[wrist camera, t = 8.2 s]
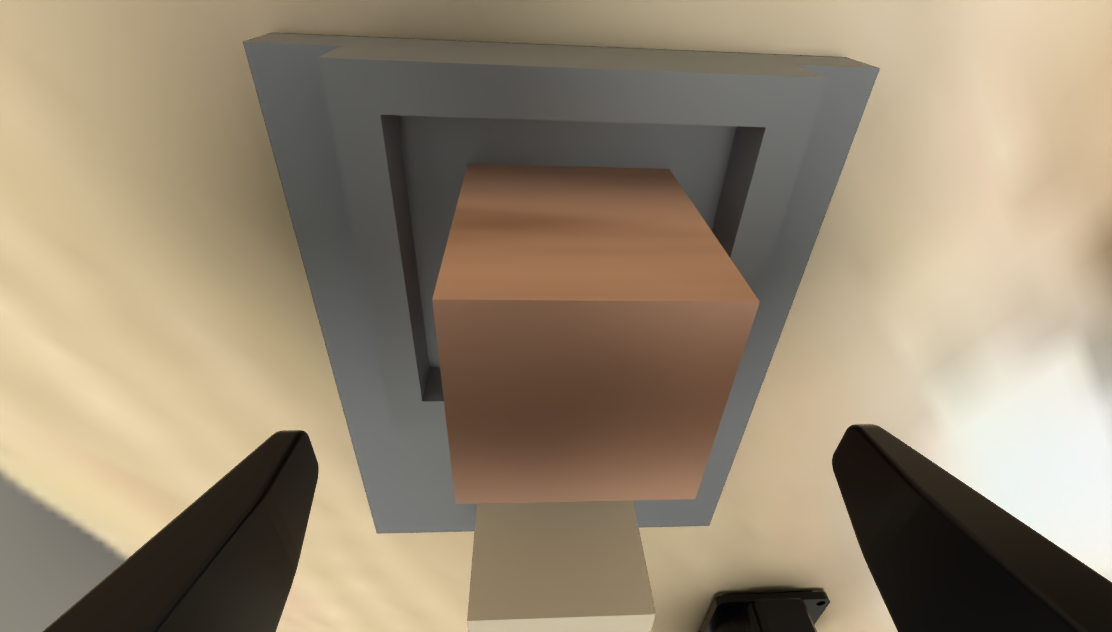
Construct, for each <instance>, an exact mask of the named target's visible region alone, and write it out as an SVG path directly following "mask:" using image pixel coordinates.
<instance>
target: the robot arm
mask: <svg viewBox="0 0 1112 632" xmlns="http://www.w3.org/2000/svg"><path fill="white" fill-rule="evenodd" d="M832 466H833V471H834V474H835V477H836V479H837V482H838V485H839V488H840V491H841V494H842V497H843V500H844V503H845V505H846V508H847V511H848V514H849V517H850V520H851V523H852V526H853V529H854V531H855V534H856V537H857V540H858V543H859V545H860V548H861V551H862V553H863V556H864V558H865V560H866V563H867V565H868V567H869V570H870V572H871V574H872V576H873V578H874V581H875V583H876V585H877V587H878V589H879V591H880V594H881V596H882V598H883V600H884V602H885V604H886V607H887V609H888V611H889V613H890V615H891V617H892V620H893V622H894V624H895V626H896V628H897V630H898V632H1112V582H1110V581H1109V580H1107V579H1106V578H1104V577H1103V576H1101V575H1100V574H1098V573H1097V572H1096V571H1094V570H1093V569H1091V568H1090V567H1088V566H1087V565H1085V564H1084V563H1082V562H1081V561H1079V560H1078V559H1076V558H1075V557H1073V556H1072V555H1070V554H1069V553H1067V552H1066V551H1064V550H1063V549H1061V548H1060V547H1058V546H1057V545H1055V544H1054V543H1052V542H1051V541H1049V540H1048V539H1046V538H1045V537H1043V536H1042V535H1040V534H1039V533H1037V532H1036V531H1034V530H1033V529H1032V528H1030V527H1029V526H1027V525H1026V524H1024V523H1023V522H1021V521H1020V520H1018V519H1017V518H1015V517H1014V516H1012V515H1011V514H1009V513H1008V512H1006V511H1005V510H1003V509H1002V508H1000V507H999V506H997V505H996V504H994V503H993V502H991V501H990V500H988V499H987V498H985V497H984V496H982V495H981V494H979V493H978V492H976V491H975V490H973V489H972V488H971V487H969V486H968V485H966V484H965V483H963V482H962V481H960V480H959V479H957V478H956V477H954V476H953V475H951V474H950V473H948V472H947V471H945V470H944V469H942V468H941V467H939V466H938V465H936V464H935V463H933V462H932V461H930V460H929V459H927V458H926V457H924V456H923V455H921V454H920V453H918V452H917V451H915V450H914V449H912V448H911V447H909V446H908V445H907V444H905V443H904V442H902V441H901V440H899V439H898V438H896V437H895V436H893V435H892V434H890V433H889V432H887V431H886V430H884V429H883V428H881V427H879V426H877V425H873V424H859V425H852V426H850V427H849V428H848V429H847V430H846V432H845V434H844V436H843V438H842V439H841V441H840V443H839V445H838V447H837V449H836V450H835V452H834V454H833V458H832ZM317 479H318V462H317V459H316V456H315V453H314V451H313V448H312V445H311V442H310V439H309V436H308V434H307V433H306V432H304V431H301V430H295V431H279V432H276V433H275V434H273V435H272V436H271V437H269V438H268V439H267V440H266V441H265V442H264V443H262V444H261V445H260V446H259V447H258V448H257V449H255V450H254V451H253V452H252V453H251V454H250V455H248V456H247V457H246V458H245V459H244V460H243V461H241V462H240V463H239V464H238V465H237V466H236V467H234V468H233V469H232V470H231V471H230V472H229V473H227V474H226V475H225V476H224V477H223V478H222V479H220V480H219V481H218V482H217V483H216V484H215V485H213V486H212V487H211V488H210V489H209V490H208V491H206V492H205V493H204V494H203V495H202V496H201V497H199V498H198V499H197V500H196V501H195V502H194V503H192V504H191V505H190V506H189V507H188V508H187V509H185V510H184V511H183V512H182V513H181V514H180V515H178V516H177V517H176V518H175V519H174V520H172V521H171V522H170V523H169V524H168V525H167V526H165V527H164V528H163V529H162V530H161V531H160V532H158V533H157V534H156V535H155V536H154V537H153V538H151V539H150V540H149V541H148V542H147V543H146V544H144V545H143V546H142V547H141V548H140V549H139V550H137V551H136V552H135V553H134V554H133V555H132V556H130V557H129V558H128V559H127V560H126V561H125V562H123V563H122V564H121V565H120V566H119V567H118V568H116V569H115V570H114V571H113V572H112V573H111V574H110V575H108V576H107V577H106V578H105V579H104V580H102V581H101V582H100V583H99V584H98V585H97V586H96V587H94V588H93V589H92V590H91V591H90V592H88V593H87V594H86V595H85V596H84V597H83V598H81V599H80V600H79V601H78V602H77V603H76V604H74V605H73V606H72V607H71V608H70V609H68V610H67V611H66V612H65V613H64V614H63V615H61V616H60V617H59V618H58V619H57V620H56V621H55V622H53V623H52V624H51V625H50V626H49V627H48V628H46V629H45V630H44V631H43V632H276V629H277V626H278V623H279V621H280V618H281V615H282V612H283V609H284V606H285V603H286V600H287V597H288V595H289V592H290V589H291V586H292V583H293V579H294V576H295V573H296V570H297V566H298V562H299V558H300V554H301V549H302V545H303V541H304V536H305V532H306V527H307V523H308V519H309V514H310V510H311V506H312V501H313V497H314V492H315V488H316V484H317ZM829 603H830V600H829V598H828V596H827V594H826V593H825V592H795V593H765V594H735V595H721V596H718V597H716V598H715V599H714V601H713V604H712V606H711V608H710V610H709V613H708V615H707V617H706V619H705V622H704V624H703V626H702V628H701V630H700V632H817V630H816V628H815V626H814V624H815V623H816V621H817V620H818V618H819V617H820V616H821V614H822V613H823V611H824V610H825V609H826V607H827V606H828V604H829Z"/></svg>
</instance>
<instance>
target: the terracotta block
mask: <svg viewBox="0 0 1112 632" xmlns="http://www.w3.org/2000/svg"><path fill="white" fill-rule="evenodd" d="M432 302H433V310H434V319H435V328H436V337H437V346H438V354H439V363H440V372H441V381H442V390H443V398H444V407H445V416H446V425H447V433H448V442H449V451H450V460H451V469H452V477H453V486H454V495H455V504H481V503H531V502H580V501H629V500H679V499H695V498H696V495H697V492H698V489H699V486H700V483H701V480H702V477H703V474H704V471H705V468H706V465H707V462H708V459H709V456H710V453H711V449H712V446H713V443H714V440H715V437H716V434H717V431H718V428H719V425H720V422H721V419H722V416H723V413H724V410H725V407H726V404H727V401H728V398H729V395H730V391H731V388H732V385H733V382H734V379H735V376H736V373H737V370H738V367H739V364H740V361H741V358H742V355H743V352H744V349H745V346H746V343H747V340H748V337H749V334H750V330H751V327H752V324H753V321H754V318H755V315H756V312H757V309H758V306H759V303H760V301H759V300H758V298H757V297H756V295H755V294H754V292H753V291H752V290H751V288H750V287H749V285H748V284H747V282H746V281H745V279H744V278H743V276H742V275H741V273H740V272H739V270H738V269H737V267H736V266H735V265H734V263H733V262H732V260H731V259H730V257H729V256H728V254H727V253H726V251H725V250H724V248H723V247H722V245H721V244H720V243H719V241H718V240H717V238H716V237H715V235H714V234H713V232H712V231H711V229H710V228H709V226H708V225H707V223H706V222H705V221H704V219H703V218H702V216H701V215H700V213H699V212H698V210H697V209H696V207H695V206H694V204H693V203H692V201H691V200H690V199H689V197H688V196H687V194H686V193H685V191H684V190H683V188H682V187H681V185H680V184H679V182H678V181H677V179H676V178H675V176H674V175H673V174H672V172H671V171H670V169H657V168H617V167H577V166H538V165H498V164H467V168H466V171H465V175H464V179H463V183H462V187H461V191H460V195H459V198H458V202H457V206H456V210H455V214H454V218H453V222H452V225H451V229H450V233H449V237H448V241H447V245H446V249H445V252H444V256H443V260H442V264H441V268H440V272H439V275H438V279H437V283H436V287H435V291H434V295H433V299H432Z"/></svg>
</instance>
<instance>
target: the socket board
mask: <svg viewBox="0 0 1112 632" xmlns="http://www.w3.org/2000/svg"><path fill="white" fill-rule="evenodd" d="M243 44H244V47H245V51H246V55H247V58H248V62H249V66H250V69H251V73H252V77H253V80H254V84H255V88H256V91H257V95H258V99H259V102H260V106H261V110H262V113H263V117H264V121H265V124H266V128H267V132H268V135H269V139H270V143H271V146H272V150H273V154H274V157H275V161H276V165H277V168H278V172H279V176H280V179H281V183H282V187H283V190H284V194H285V198H286V201H287V205H288V209H289V212H290V216H291V220H292V223H293V227H294V231H295V235H296V238H297V242H298V246H299V249H300V253H301V257H302V260H303V264H304V268H305V271H306V275H307V279H308V282H309V286H310V290H311V293H312V297H313V301H314V304H315V308H316V312H317V315H318V319H319V323H320V326H321V330H322V334H323V337H324V341H325V345H326V348H327V352H328V356H329V359H330V363H331V367H332V370H333V374H334V378H335V381H336V385H337V389H338V392H339V396H340V400H341V403H342V407H343V411H344V414H345V418H346V422H347V425H348V429H349V433H350V436H351V440H352V444H353V447H354V451H355V455H356V458H357V462H358V466H359V469H360V473H361V477H362V481H363V484H364V488H365V492H366V495H367V499H368V503H369V506H370V510H371V514H372V517H373V521H374V525H375V528H376V532H377V533H419V532H462V531H475V533H474V545H473V558H472V570H471V582H470V594H469V606H468V618H467V623H468V632H650V631H651V628H652V625H653V622H654V619H655V616H656V612H655V607H654V602H653V597H652V592H651V587H650V582H649V577H648V572H647V567H646V562H645V557H644V553H643V548H642V543H641V538H640V533H639V528H638V527H676V526H709V525H710V522H711V519H712V517H713V514H714V511H715V509H716V506H717V503H718V500H719V498H720V495H721V492H722V490H723V487H724V484H725V482H726V479H727V476H728V474H729V471H730V468H731V466H732V463H733V460H734V458H735V455H736V452H737V450H738V447H739V444H740V442H741V439H742V436H743V434H744V431H745V428H746V425H747V423H748V420H749V417H750V415H751V412H752V409H753V407H754V404H755V401H756V399H757V396H758V393H759V391H760V388H761V385H762V383H763V380H764V377H765V375H766V372H767V369H768V367H769V364H770V361H771V359H772V356H773V353H774V351H775V348H776V345H777V342H778V340H779V337H780V334H781V332H782V329H783V326H784V324H785V321H786V318H787V316H788V313H789V310H790V308H791V305H792V302H793V300H794V297H795V294H796V292H797V289H798V286H799V284H800V281H801V278H802V276H803V273H804V270H805V267H806V265H807V262H808V259H809V257H810V254H811V251H812V249H813V246H814V243H815V241H816V238H817V235H818V233H819V230H820V227H821V225H822V222H823V219H824V217H825V214H826V211H827V209H828V206H829V203H830V201H831V198H832V195H833V192H834V190H835V187H836V184H837V182H838V179H839V176H840V174H841V171H842V168H843V166H844V163H845V160H846V158H847V155H848V152H849V150H850V147H851V144H852V142H853V139H854V136H855V134H856V131H857V128H858V126H859V123H860V120H861V118H862V115H863V112H864V109H865V107H866V104H867V101H868V99H869V96H870V93H871V91H872V88H873V85H874V83H875V80H876V77H877V75H878V72H879V69H880V68H877V67H874V66H871V65H868V64H865V63H862V62H859V61H856V60H853V59H849V58H846V57H825V56H801V55H778V54H755V53H732V52H708V51H685V50H662V49H639V48H615V47H592V46H569V45H545V44H522V43H499V42H476V41H452V40H429V39H406V38H382V37H359V36H336V35H313V34H289V33H269V34H266V35H263V36H260V37H257V38H253V39H250V40H247V41H244V42H243ZM467 164H498V165H538V166H577V167H617V168H657V169H670V171H671V172H672V174H673V175H674V176H675V178H676V179H677V181H678V182H679V184H680V185H681V187H682V188H683V190H684V191H685V193H686V194H687V196H688V197H689V199H690V200H691V201H692V203H693V204H694V206H695V207H696V209H697V210H698V212H699V213H700V215H701V216H702V218H703V219H704V221H705V222H706V223H707V225H708V226H709V228H710V229H711V231H712V232H713V234H714V235H715V237H716V238H717V240H718V241H719V243H720V244H721V245H722V247H723V248H724V250H725V251H726V253H727V254H728V256H729V257H730V259H731V260H732V262H733V263H734V265H735V266H736V267H737V269H738V270H739V272H740V273H741V275H742V276H743V278H744V279H745V281H746V282H747V284H748V285H749V287H750V288H751V290H752V291H753V292H754V294H755V295H756V297H757V298H758V300H759V301H760V303H759V306H758V309H757V312H756V315H755V318H754V321H753V324H752V327H751V330H750V334H749V337H748V340H747V343H746V346H745V349H744V352H743V355H742V358H741V361H740V364H739V367H738V370H737V373H736V376H735V379H734V382H733V385H732V388H731V391H730V395H729V398H728V401H727V404H726V407H725V410H724V413H723V416H722V419H721V422H720V425H719V428H718V431H717V434H716V437H715V440H714V443H713V446H712V449H711V453H710V456H709V459H708V462H707V465H706V468H705V471H704V474H703V477H702V480H701V483H700V486H699V489H698V492H697V495H696V498H695V499H679V500H629V501H580V502H531V503H481V504H455V495H454V486H453V477H452V469H451V460H450V451H449V442H448V433H447V425H446V416H445V407H444V398H443V390H442V381H441V372H440V363H439V354H438V346H437V337H436V328H435V319H434V310H433V302H432V299H433V295H434V291H435V287H436V283H437V279H438V275H439V272H440V268H441V264H442V260H443V256H444V252H445V249H446V245H447V241H448V237H449V233H450V229H451V225H452V222H453V218H454V214H455V210H456V206H457V202H458V198H459V195H460V191H461V187H462V183H463V179H464V175H465V171H466V168H467Z"/></svg>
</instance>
